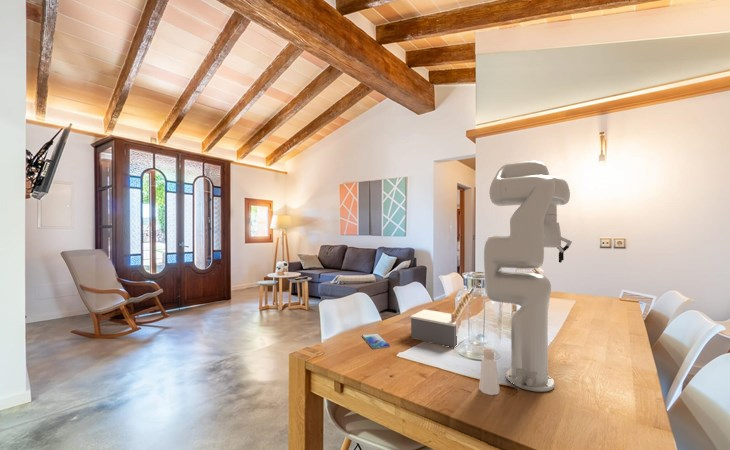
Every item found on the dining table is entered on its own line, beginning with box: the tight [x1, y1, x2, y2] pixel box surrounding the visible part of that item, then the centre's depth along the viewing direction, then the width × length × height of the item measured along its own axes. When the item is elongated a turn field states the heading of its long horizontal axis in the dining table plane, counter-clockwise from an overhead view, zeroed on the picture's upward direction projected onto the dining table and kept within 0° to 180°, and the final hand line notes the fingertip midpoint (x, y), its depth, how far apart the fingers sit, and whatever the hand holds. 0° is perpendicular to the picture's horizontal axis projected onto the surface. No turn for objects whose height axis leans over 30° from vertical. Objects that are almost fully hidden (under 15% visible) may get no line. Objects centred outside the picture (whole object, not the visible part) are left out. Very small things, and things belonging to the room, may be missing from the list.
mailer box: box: [410, 318, 457, 349], centre depth 128 cm, size 12×18×8 cm, turn 53°
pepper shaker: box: [478, 348, 501, 396], centre depth 88 cm, size 5×5×11 cm
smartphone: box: [361, 333, 391, 350], centre depth 126 cm, size 7×1×15 cm
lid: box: [409, 309, 456, 326], centre depth 128 cm, size 12×18×4 cm
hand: (546, 261), depth 128 cm, fingers open, 9 cm apart
